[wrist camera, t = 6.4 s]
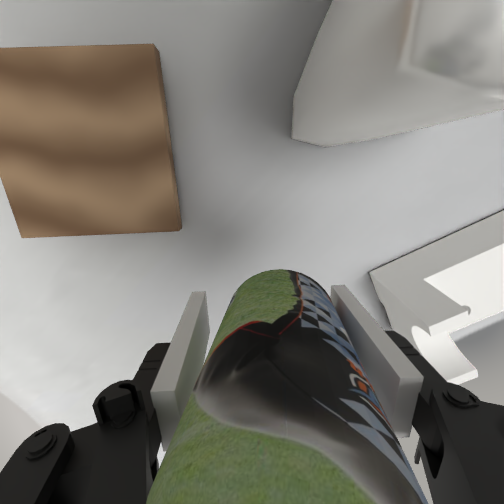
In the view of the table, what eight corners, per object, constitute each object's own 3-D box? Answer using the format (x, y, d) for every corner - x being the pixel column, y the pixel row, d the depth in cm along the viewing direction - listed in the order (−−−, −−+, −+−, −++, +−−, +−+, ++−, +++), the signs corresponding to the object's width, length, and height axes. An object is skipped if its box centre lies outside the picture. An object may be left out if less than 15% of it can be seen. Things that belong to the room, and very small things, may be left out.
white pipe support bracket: (387, 324, 36) (444, 389, 26) (369, 272, 32) (428, 327, 22) (512, 270, 34) (624, 320, 24) (509, 207, 30) (640, 237, 20)
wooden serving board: (1, 68, 24) (-44, 49, 20) (167, 63, 24) (153, 43, 20) (50, 229, 29) (21, 238, 25) (186, 223, 29) (178, 231, 26)
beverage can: (302, 359, 16) (439, 802, 5) (194, 329, 15) (51, 799, 4) (345, 277, 14) (720, 680, 3) (225, 237, 13) (126, 615, 2)
